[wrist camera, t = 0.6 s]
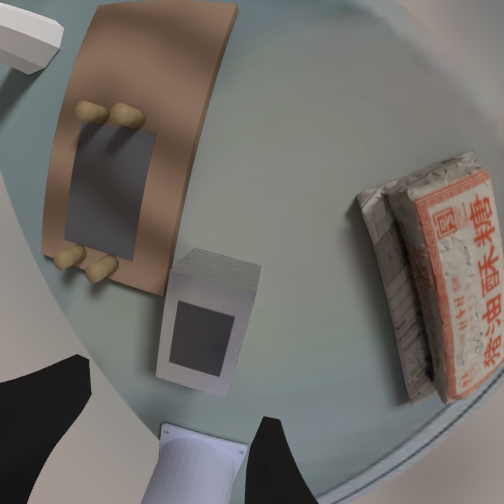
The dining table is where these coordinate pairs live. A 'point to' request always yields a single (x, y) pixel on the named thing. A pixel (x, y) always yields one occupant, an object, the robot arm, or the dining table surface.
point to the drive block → (206, 320)
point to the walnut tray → (132, 138)
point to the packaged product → (441, 274)
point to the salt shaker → (27, 39)
